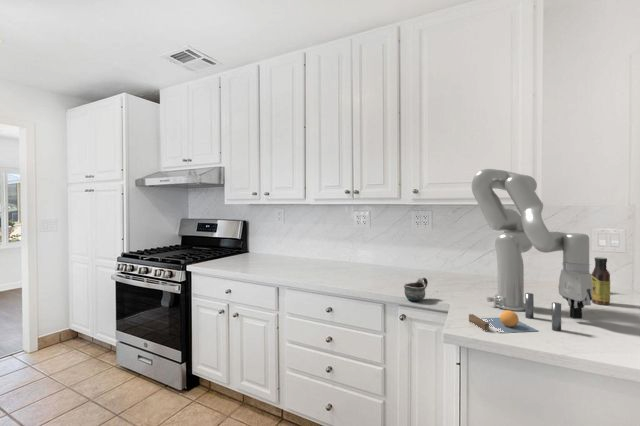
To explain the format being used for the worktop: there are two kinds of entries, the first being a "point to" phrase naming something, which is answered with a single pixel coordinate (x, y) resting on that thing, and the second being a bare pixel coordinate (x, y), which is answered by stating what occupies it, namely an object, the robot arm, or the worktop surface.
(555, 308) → the edge side post
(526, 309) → the base side post
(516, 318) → the ball
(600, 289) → the sauce bottle
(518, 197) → the robot arm
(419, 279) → the mug
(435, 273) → the worktop surface
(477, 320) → the wall
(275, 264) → the worktop surface
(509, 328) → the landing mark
